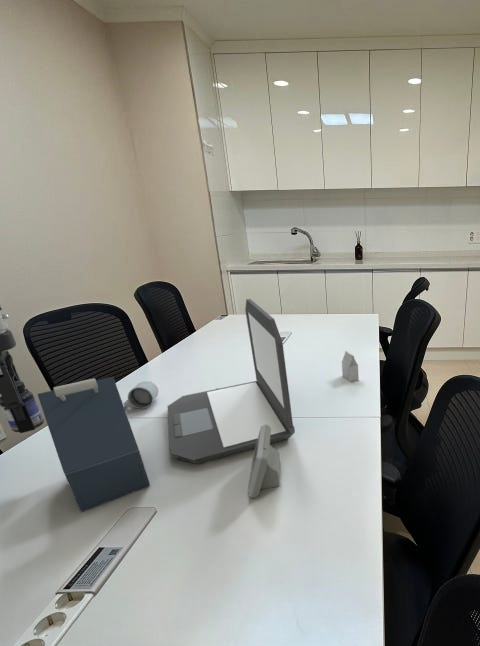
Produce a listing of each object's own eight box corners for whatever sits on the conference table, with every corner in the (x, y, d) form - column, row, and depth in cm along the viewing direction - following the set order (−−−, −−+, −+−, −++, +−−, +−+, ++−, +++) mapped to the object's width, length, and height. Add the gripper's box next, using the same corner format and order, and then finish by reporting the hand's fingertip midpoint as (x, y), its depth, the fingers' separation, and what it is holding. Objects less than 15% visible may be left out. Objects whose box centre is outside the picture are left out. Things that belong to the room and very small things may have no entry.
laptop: (168, 405, 131) (142, 307, 118) (261, 385, 144) (247, 295, 131) (174, 473, 96) (137, 345, 83) (295, 439, 109) (281, 324, 96)
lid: (38, 394, 82) (28, 384, 75) (113, 377, 90) (111, 366, 82) (64, 473, 81) (57, 470, 73) (138, 449, 88) (138, 444, 81)
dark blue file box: (75, 475, 97) (61, 442, 93) (137, 455, 104) (127, 423, 100) (80, 512, 85) (65, 475, 80) (150, 485, 92) (139, 451, 88)
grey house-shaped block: (349, 381, 146) (348, 356, 142) (342, 375, 151) (341, 351, 147) (358, 379, 147) (357, 355, 143) (351, 373, 153) (349, 349, 149)
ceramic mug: (162, 397, 137) (156, 377, 134) (155, 407, 130) (149, 386, 127) (129, 401, 135) (122, 381, 132) (121, 411, 128) (114, 390, 125)
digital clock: (255, 458, 101) (249, 423, 97) (289, 457, 101) (284, 422, 97) (235, 500, 87) (226, 461, 82) (275, 499, 87) (268, 460, 82)
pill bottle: (44, 417, 97) (27, 377, 93) (45, 427, 93) (27, 385, 88) (12, 425, 94) (-7, 384, 89) (11, 436, 89) (-9, 393, 85)
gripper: (7, 339, 79) (48, 436, 88) (12, 320, 93) (46, 406, 102) (-44, 346, 75) (5, 447, 84) (-31, 326, 88) (9, 415, 98)
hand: (27, 425), depth 93 cm, fingers closed on pill bottle, 6 cm apart
